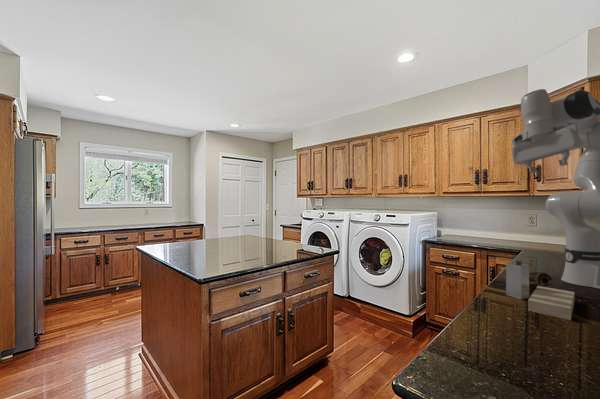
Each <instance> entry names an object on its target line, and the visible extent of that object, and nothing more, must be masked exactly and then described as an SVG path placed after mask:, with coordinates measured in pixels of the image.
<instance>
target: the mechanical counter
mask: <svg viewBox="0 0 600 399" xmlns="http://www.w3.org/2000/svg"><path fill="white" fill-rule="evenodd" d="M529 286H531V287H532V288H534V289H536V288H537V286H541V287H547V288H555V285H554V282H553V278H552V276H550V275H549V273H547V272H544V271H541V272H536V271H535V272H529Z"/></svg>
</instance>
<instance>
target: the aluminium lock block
mask: <svg viewBox="0 0 600 399" xmlns="http://www.w3.org/2000/svg"><path fill="white" fill-rule="evenodd" d="M505 268H506V269H505V270H506V271H505V272H506V273H505V274H506V275H505V279H506V280H505V291H506V292H505V295H507V297H510V296H511V297H510V298H514V299H518V300H525V299H529V298H530V284H529V274H530V264H528V263H523V262H522V261H521V260H513V261H512V262H507V263H506V264H505Z"/></svg>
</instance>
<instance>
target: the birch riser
mask: <svg viewBox="0 0 600 399" xmlns="http://www.w3.org/2000/svg"><path fill="white" fill-rule="evenodd" d="M574 306H575V291H570V290H566V289H559V288H555V287H553V288H547V287H541V286H537V288H534V290H533V293H532V294H531V295H530V296H529V298H528V300H527V307H528V308H527V310H528V312H530V311H532V312H531V313H535V312H536V313H537V314H541V315H544V316H549V317H554V318H559V319H562V320H568V321H572V316H573V311H574ZM536 313H535V314H536Z"/></svg>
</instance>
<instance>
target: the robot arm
mask: <svg viewBox="0 0 600 399" xmlns="http://www.w3.org/2000/svg"><path fill="white" fill-rule="evenodd" d="M520 111H521V118H522V120H523V122H524V126H523V129H524V130H522V132H520V133H519V134H518V135H516V136H514V138H512V139H511V144H512V145H513V146H512V148H511V155H512V156H511V157H512V162H513V163H514V164H516V165H524V166H525V167H527V168H528V169H529V173H530V174H535V173H537V172H538V170H537V167H533V162H535V161H538V160H542V159H546V158H549V157H553V156H556V155H560V154H561V156H562V157H561V160H560V159H559V160H558V164H559V166H560V167H561V166H562V167H564V166H568V159H569V157H570V155H571V153H570V152H571V151H574V150H578V149H583V150H584V151H583V152H582V153H581V155H580V157H579V159H578V162H577V165H576V168H575V171H574V175H573V179H572V180H573V183H574V185H576V186H577V187H578V188H580V189H582V190H584V191H571V192H570V191H567V192H566V191H565V192H558V193H554V194H553V193H552V194H550V195H549V196H548V197H547V199H546V200H545V208H546V210H547V212H548V213H549V214H551V215H552V216H554V217H555V218H556V219H557V220H558V221H559V222H560V224H561V225H562V227H563V230H564V232H565V244H566V245H565V248H564V259H565V261H564V262H565V265H564V268H563V269H564V270H563V273H562V275H561V279H560V280H561V281H563V282H565V283H569V284H573V285H576V286H583V287H589V288H594V289H600V230H599V229H597V228H595V227H593V226H592V225H589V224H587V223H586V222H585V220H584V218H585V219H586V218H589V219H600V101H599V100H598V99H597V98H596V97H594V96H593V94H592V93H591V92H589V91H586V90H581V89H579V90H576V91H574V92H571V93H569V94H568V95H566V96H563V97H561V98H558V99H556V100H555V99H554V100H553V101H551V98H550V96H549V94H548V92H547V90H546V89H545V88H540V89H536V90H533V91H531V92H528V93H526V94H525V95H523V96H522V97H521V99H520Z"/></svg>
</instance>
